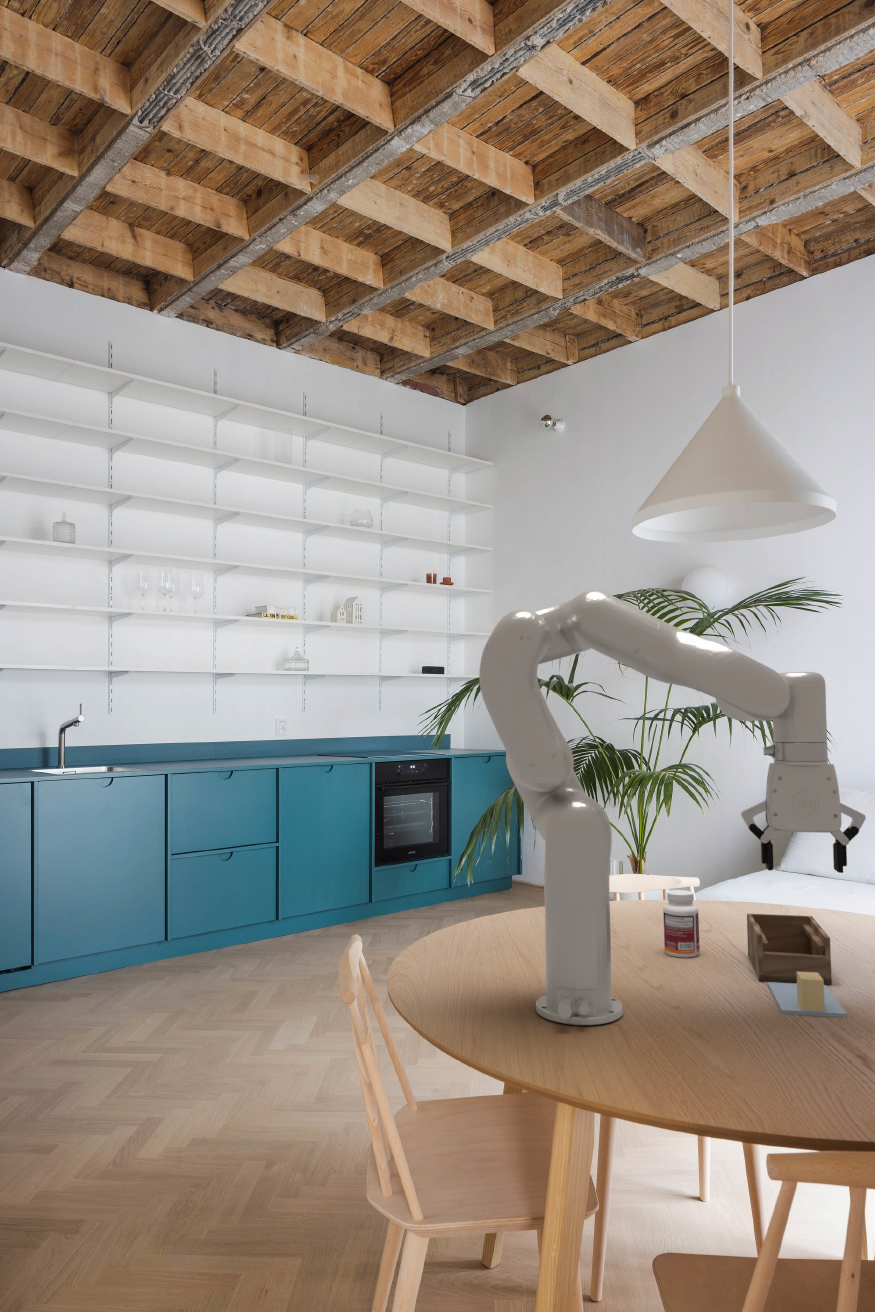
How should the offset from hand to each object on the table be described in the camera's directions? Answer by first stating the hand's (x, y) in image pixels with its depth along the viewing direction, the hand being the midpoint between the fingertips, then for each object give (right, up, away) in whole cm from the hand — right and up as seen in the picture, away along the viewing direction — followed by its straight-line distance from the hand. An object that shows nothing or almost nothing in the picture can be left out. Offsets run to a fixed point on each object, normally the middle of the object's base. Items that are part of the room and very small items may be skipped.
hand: (803, 870), depth 134 cm
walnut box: (+5, -21, +19) cm, 29 cm away
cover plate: (+1, -21, +2) cm, 21 cm away
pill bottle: (-10, -22, +30) cm, 38 cm away
